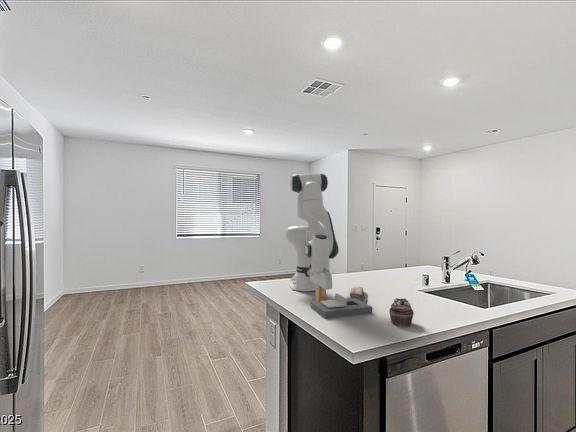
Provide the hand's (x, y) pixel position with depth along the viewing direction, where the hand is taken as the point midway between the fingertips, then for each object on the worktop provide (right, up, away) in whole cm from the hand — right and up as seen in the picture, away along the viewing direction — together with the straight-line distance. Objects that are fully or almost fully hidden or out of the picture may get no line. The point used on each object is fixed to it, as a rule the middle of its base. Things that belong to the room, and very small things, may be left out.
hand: (320, 294), depth 152 cm
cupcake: (+31, -5, -27) cm, 41 cm away
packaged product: (+22, -6, +14) cm, 26 cm away
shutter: (+5, -2, -11) cm, 12 cm away
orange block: (0, -5, 0) cm, 5 cm away
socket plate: (+8, -5, -10) cm, 14 cm away
